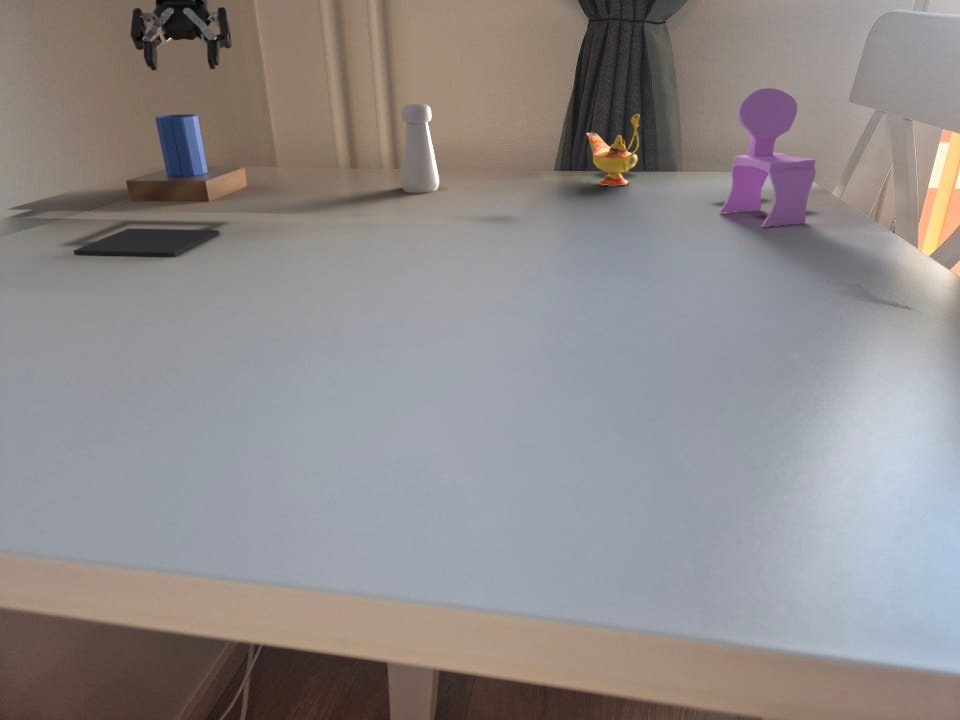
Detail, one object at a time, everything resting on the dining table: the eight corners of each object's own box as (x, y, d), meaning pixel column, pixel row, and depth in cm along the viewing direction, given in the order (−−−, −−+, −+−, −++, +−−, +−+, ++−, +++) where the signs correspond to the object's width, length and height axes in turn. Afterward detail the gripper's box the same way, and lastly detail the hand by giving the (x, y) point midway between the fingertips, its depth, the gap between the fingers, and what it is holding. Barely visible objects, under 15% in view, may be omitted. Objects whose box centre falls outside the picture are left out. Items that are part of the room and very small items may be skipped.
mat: (74, 254, 75) (73, 250, 75) (128, 232, 84) (127, 228, 84) (174, 257, 73) (173, 252, 73) (219, 234, 82) (218, 230, 82)
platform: (132, 209, 97) (125, 180, 95) (177, 192, 108) (172, 166, 106) (210, 209, 95) (205, 181, 94) (248, 193, 106) (244, 167, 104)
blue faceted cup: (159, 176, 98) (146, 118, 94) (180, 170, 103) (169, 114, 99) (195, 176, 97) (184, 117, 93) (214, 170, 102) (204, 114, 98)
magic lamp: (604, 171, 118) (608, 104, 113) (655, 190, 102) (662, 112, 98) (567, 174, 116) (570, 106, 112) (614, 193, 101) (619, 114, 96)
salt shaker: (430, 202, 97) (425, 106, 92) (394, 200, 99) (387, 105, 93) (446, 194, 102) (442, 102, 97) (411, 192, 104) (406, 102, 98)
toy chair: (758, 229, 80) (779, 92, 73) (712, 214, 87) (727, 89, 81) (815, 223, 82) (840, 89, 76) (765, 208, 89) (784, 86, 83)
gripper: (125, -35, 104) (123, 47, 98) (222, -35, 106) (225, 45, 101) (142, 6, 111) (140, 85, 105) (233, 5, 113) (236, 82, 108)
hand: (182, 65), depth 103 cm, fingers open, 8 cm apart
